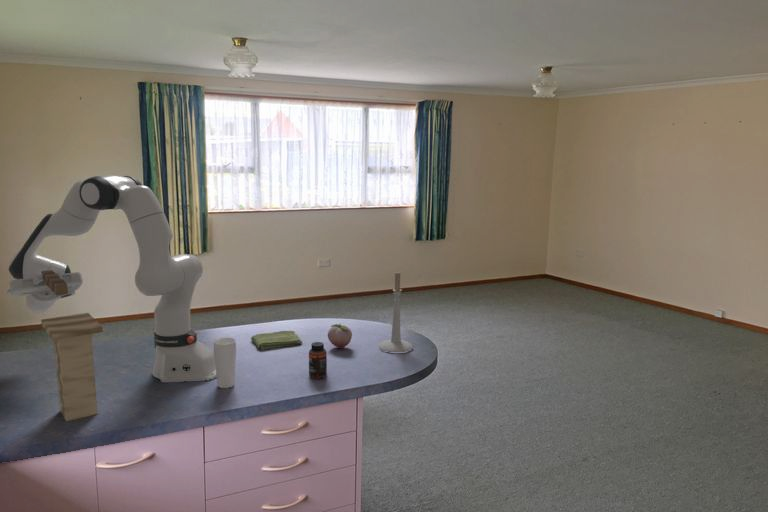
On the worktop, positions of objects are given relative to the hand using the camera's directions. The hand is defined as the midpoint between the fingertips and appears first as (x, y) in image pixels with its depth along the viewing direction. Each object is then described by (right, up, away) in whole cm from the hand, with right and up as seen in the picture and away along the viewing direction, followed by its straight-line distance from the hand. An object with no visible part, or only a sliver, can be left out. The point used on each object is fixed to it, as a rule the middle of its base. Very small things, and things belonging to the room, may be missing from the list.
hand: (49, 275), depth 181 cm
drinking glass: (+53, -35, +5) cm, 64 cm away
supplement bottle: (+82, -34, +15) cm, 90 cm away
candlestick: (+108, -29, +43) cm, 120 cm away
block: (+5, -3, -5) cm, 8 cm away
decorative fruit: (+87, -29, +41) cm, 100 cm away
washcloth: (+62, -28, +46) cm, 82 cm away
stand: (+17, -38, -15) cm, 44 cm away
